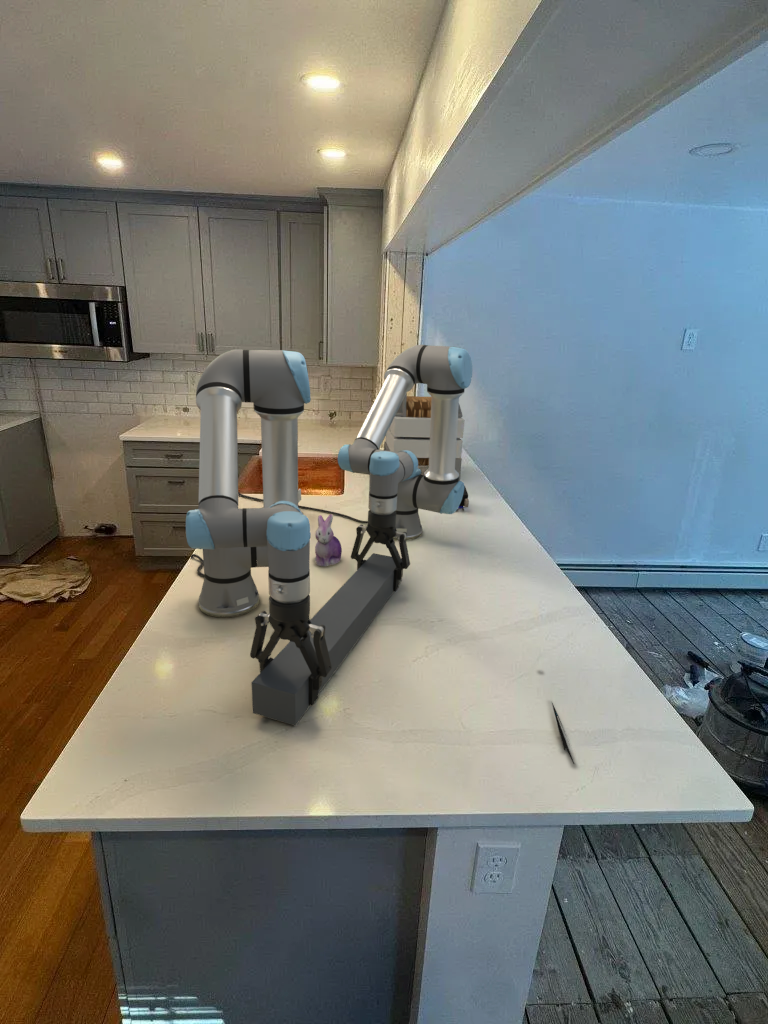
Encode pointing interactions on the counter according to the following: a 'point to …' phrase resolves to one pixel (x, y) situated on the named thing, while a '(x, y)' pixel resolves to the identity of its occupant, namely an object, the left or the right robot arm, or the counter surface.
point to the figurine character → (464, 500)
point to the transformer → (418, 430)
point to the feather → (562, 734)
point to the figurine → (326, 543)
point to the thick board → (345, 621)
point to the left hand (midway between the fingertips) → (290, 695)
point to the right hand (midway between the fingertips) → (379, 585)
